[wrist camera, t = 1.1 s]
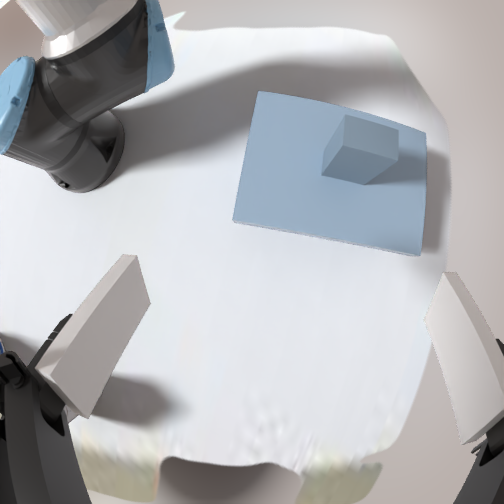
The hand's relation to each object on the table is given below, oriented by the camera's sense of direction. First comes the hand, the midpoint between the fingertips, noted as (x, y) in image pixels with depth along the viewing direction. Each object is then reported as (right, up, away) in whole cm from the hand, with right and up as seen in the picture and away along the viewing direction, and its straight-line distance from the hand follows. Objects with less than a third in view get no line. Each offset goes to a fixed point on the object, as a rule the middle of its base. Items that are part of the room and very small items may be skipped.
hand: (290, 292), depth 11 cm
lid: (+9, +11, +21) cm, 25 cm away
